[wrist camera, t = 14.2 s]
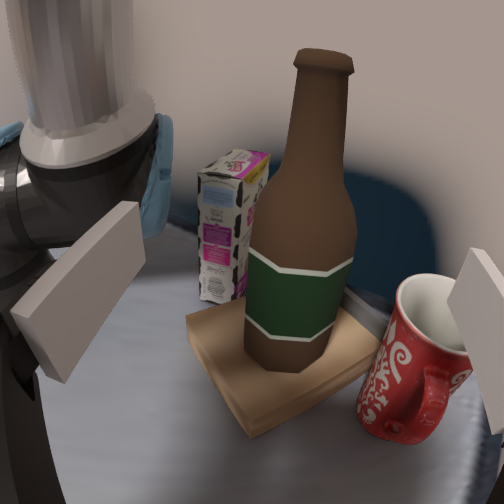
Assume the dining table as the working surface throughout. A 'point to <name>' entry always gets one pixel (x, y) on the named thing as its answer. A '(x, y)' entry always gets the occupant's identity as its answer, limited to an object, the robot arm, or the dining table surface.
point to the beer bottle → (303, 225)
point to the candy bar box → (228, 222)
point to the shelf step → (279, 383)
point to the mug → (415, 364)
